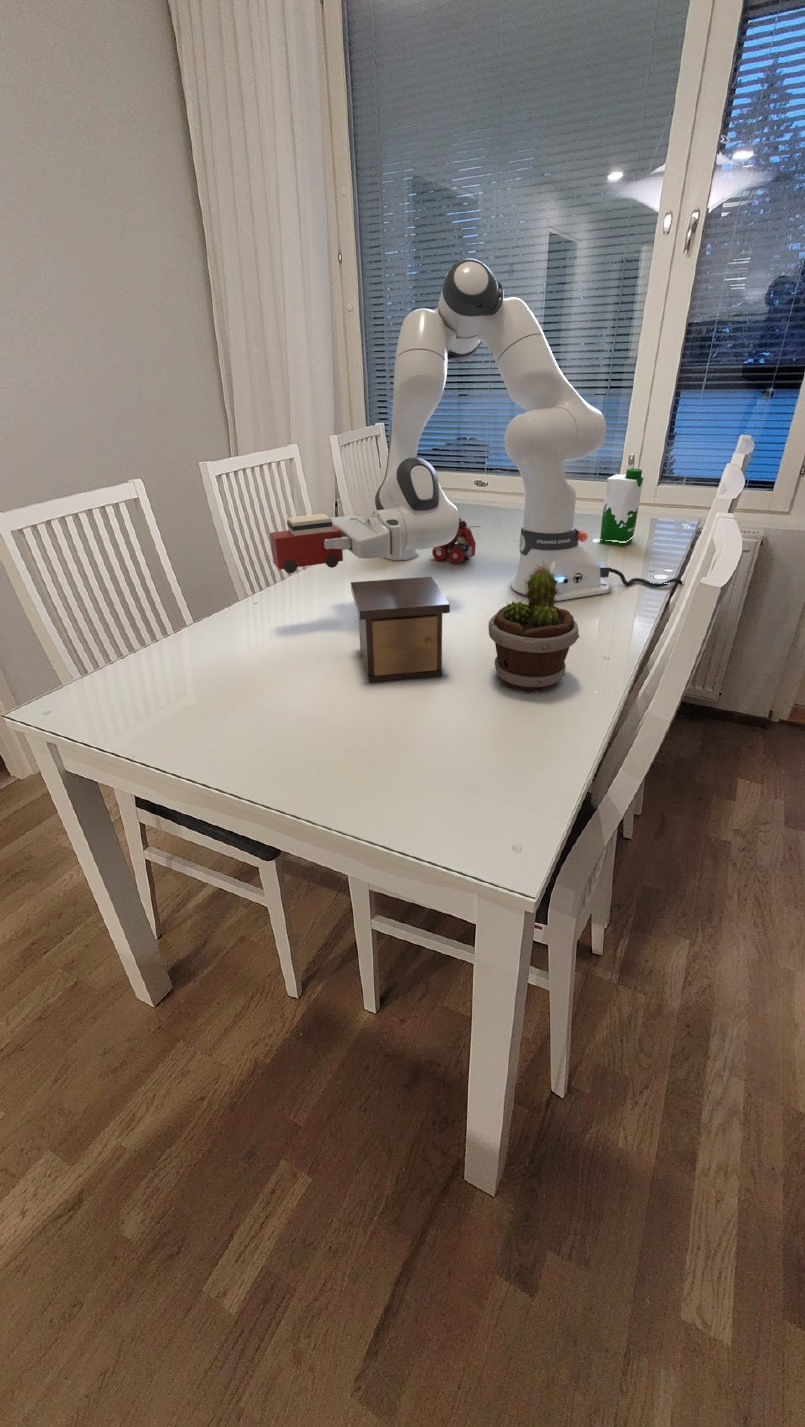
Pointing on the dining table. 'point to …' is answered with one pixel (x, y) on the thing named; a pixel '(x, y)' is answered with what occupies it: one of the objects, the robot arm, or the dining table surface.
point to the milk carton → (621, 507)
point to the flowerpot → (533, 636)
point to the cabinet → (400, 628)
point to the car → (305, 543)
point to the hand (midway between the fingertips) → (319, 540)
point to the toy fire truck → (457, 546)
